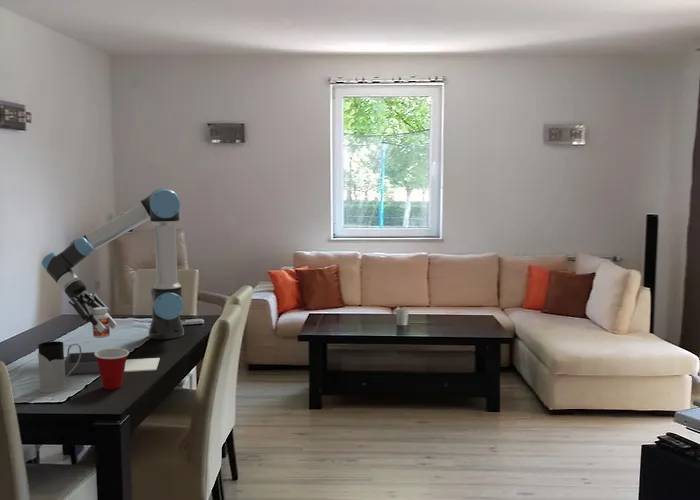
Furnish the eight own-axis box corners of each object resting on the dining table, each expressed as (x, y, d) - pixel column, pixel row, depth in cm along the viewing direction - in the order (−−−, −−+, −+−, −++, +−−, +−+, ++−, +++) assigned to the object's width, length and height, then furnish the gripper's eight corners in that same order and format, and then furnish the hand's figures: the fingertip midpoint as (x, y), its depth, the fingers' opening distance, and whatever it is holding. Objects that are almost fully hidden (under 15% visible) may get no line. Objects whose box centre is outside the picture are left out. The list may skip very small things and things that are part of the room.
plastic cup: (110, 394, 219) (108, 357, 218) (88, 388, 225) (87, 353, 223) (137, 385, 228) (136, 350, 227) (115, 380, 234) (114, 346, 233)
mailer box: (159, 359, 262) (159, 348, 262) (156, 370, 246) (155, 359, 246) (70, 363, 256) (70, 353, 255) (61, 375, 240) (60, 364, 240)
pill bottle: (103, 338, 265) (101, 309, 264) (89, 337, 267) (88, 309, 265) (113, 335, 271) (111, 307, 269) (100, 334, 272) (98, 306, 271)
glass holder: (34, 388, 225) (32, 344, 224) (77, 379, 235) (75, 337, 234) (44, 394, 219) (42, 348, 218) (87, 385, 229) (86, 341, 227)
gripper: (83, 288, 281) (119, 329, 277) (49, 296, 263) (86, 340, 259) (93, 275, 278) (129, 317, 275) (59, 282, 260) (97, 327, 257)
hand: (108, 328), depth 267 cm, fingers closed on pill bottle, 6 cm apart
